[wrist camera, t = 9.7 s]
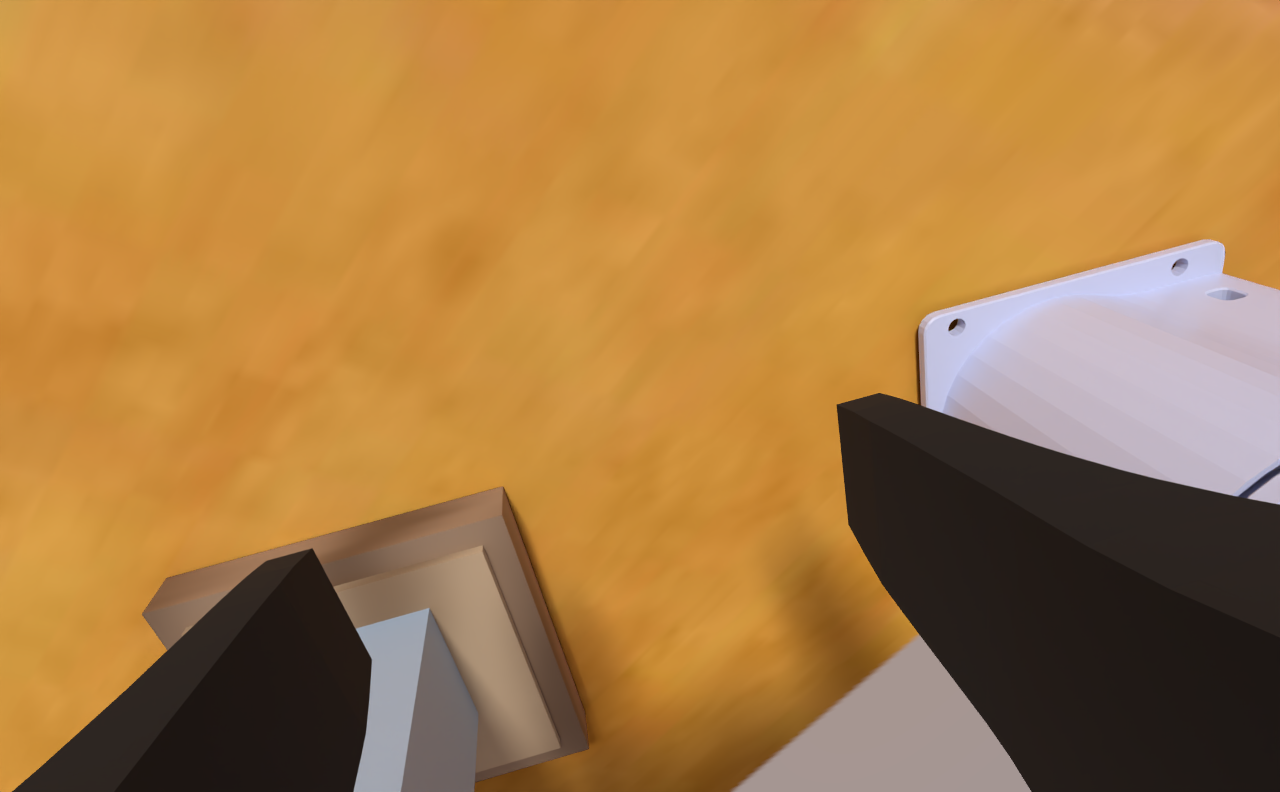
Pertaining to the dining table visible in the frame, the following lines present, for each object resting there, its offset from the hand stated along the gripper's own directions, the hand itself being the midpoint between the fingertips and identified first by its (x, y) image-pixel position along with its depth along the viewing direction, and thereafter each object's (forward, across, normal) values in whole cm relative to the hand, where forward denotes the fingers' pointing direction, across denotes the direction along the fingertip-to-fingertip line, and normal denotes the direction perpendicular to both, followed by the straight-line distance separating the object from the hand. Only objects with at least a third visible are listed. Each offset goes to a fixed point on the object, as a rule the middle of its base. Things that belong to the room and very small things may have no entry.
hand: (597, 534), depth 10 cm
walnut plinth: (+10, +8, +10) cm, 16 cm away
